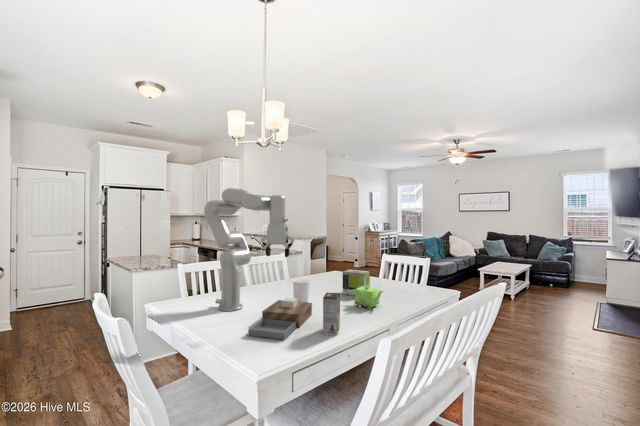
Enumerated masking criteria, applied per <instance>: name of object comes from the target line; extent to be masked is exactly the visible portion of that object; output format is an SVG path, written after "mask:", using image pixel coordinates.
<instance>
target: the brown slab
mask: <svg viewBox="0 0 640 426" xmlns="http://www.w3.org/2000/svg"><path fill="white" fill-rule="evenodd" d="M282 300H283V299H278V300H276V301H275V302H273V303H272V304H270V306H268V307H266V308H265V309H263V310H262V311H261V314H262V315H261V316H262V317H261V320H262V319H271V320H280V321H290V322H296V329H297V328H300V327H302V326H303V325H304V324H305V322H306V321H307V320H308V319H310V317H311V316H312V310H313V308H312V307H313V303H312V302H297V305H296V306H295V307H294V308H289V307H282Z"/></svg>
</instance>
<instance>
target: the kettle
mask: <svg viewBox="0 0 640 426" xmlns="http://www.w3.org/2000/svg"><path fill="white" fill-rule="evenodd" d="M351 292H352V293H353V294H354V295H355V296H354V295H353V296H354V305H358V306H362V307H366V309H367V308H373V306H374V307H376V306H378V305H379V304H380V302H379V301H380V298H381V294H382V293H383V292H385V291H384V290H380V289H379V288H377V287H376V288H375V287H371V286H370V287H369V286H365V287H363V286H362V287H359V288H357V289H355V290H354V289H353V290H352V291H351Z"/></svg>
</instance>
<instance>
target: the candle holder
mask: <svg viewBox="0 0 640 426" xmlns="http://www.w3.org/2000/svg"><path fill="white" fill-rule="evenodd" d="M310 281H311V280H310V279H305V278H300V279H293V280H292V284H293V285H292V288H293V298H297V299H298V300H297V302H307V303H309V298H310V297H309V295H310V283H311V282H310Z"/></svg>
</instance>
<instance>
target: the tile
mask: <svg viewBox="0 0 640 426" xmlns="http://www.w3.org/2000/svg"><path fill="white" fill-rule="evenodd" d="M281 300H282V307H289V308H294V307H295V306H296V305H297V300H298V299H297V298H294V297H285V298H283V299H281Z"/></svg>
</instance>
